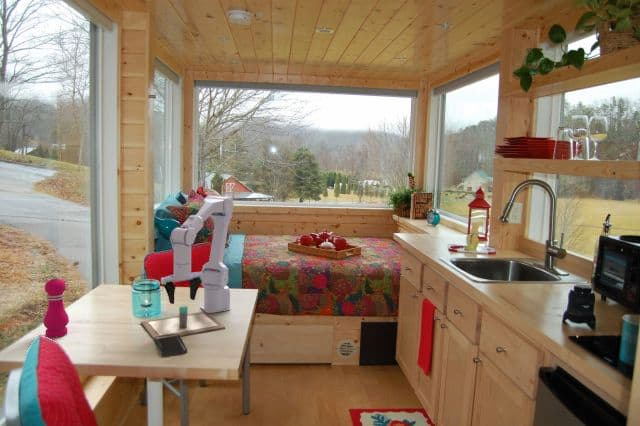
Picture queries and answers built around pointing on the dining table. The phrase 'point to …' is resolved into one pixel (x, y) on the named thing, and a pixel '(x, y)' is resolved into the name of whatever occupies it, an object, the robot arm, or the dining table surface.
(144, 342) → the dining table surface
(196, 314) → the drawing pad
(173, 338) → the phone
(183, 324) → the marker
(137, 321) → the dining table surface
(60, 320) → the pepper mill
